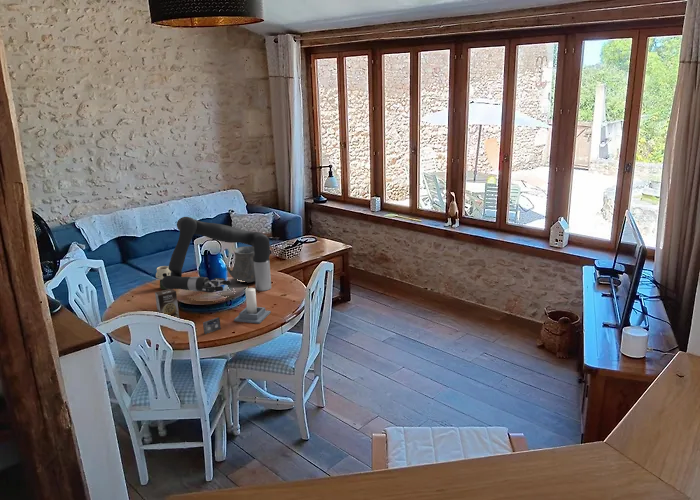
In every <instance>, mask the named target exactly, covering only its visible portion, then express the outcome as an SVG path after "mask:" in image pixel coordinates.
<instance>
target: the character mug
mask: <svg viewBox="0 0 700 500" xmlns="http://www.w3.org/2000/svg"><path fill="white" fill-rule="evenodd" d="M165 276H171V271H170V270H169V265H161V266H158V267H157V268H156V273H155V278H156V279H158V280H159V288H160V289H161V290H167V289H166V288H164V287H163V286H162V283H161V282H162V279H163V278H164V277H165Z"/></svg>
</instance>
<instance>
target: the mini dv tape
mask: <svg viewBox="0 0 700 500" xmlns="http://www.w3.org/2000/svg"><path fill="white" fill-rule="evenodd" d="M202 324H203V326H202V327H203V334H205V335H208V334H210V332H211V333H213V332H216V331H218V330H221V329H222V328H221V327H222V326H221V317H215V318H212V319H209V320H205V321H203V322H202ZM207 333H208V334H207Z"/></svg>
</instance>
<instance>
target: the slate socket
mask: <svg viewBox="0 0 700 500" xmlns="http://www.w3.org/2000/svg"><path fill="white" fill-rule="evenodd" d="M270 314H272V312H271V310H266V307H262V306H257V314H248V313H247V306H245V308H243V310H241V311H240V312H239V313H238V315H237V316H236V317H235V318H234V319H233V321H234V322H237V323H238V322H240V323H251V324H261V323H262V322H263V321H264V320H265V319H266V318H267V317H268V316H269V315H270Z"/></svg>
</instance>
